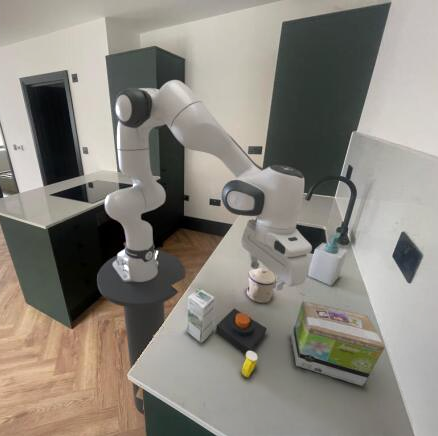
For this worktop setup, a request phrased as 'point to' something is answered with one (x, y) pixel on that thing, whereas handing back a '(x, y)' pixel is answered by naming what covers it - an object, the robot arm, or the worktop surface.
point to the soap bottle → (327, 261)
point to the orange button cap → (242, 320)
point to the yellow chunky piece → (249, 363)
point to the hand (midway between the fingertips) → (264, 277)
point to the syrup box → (200, 314)
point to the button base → (240, 332)
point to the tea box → (335, 342)
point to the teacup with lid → (260, 285)
